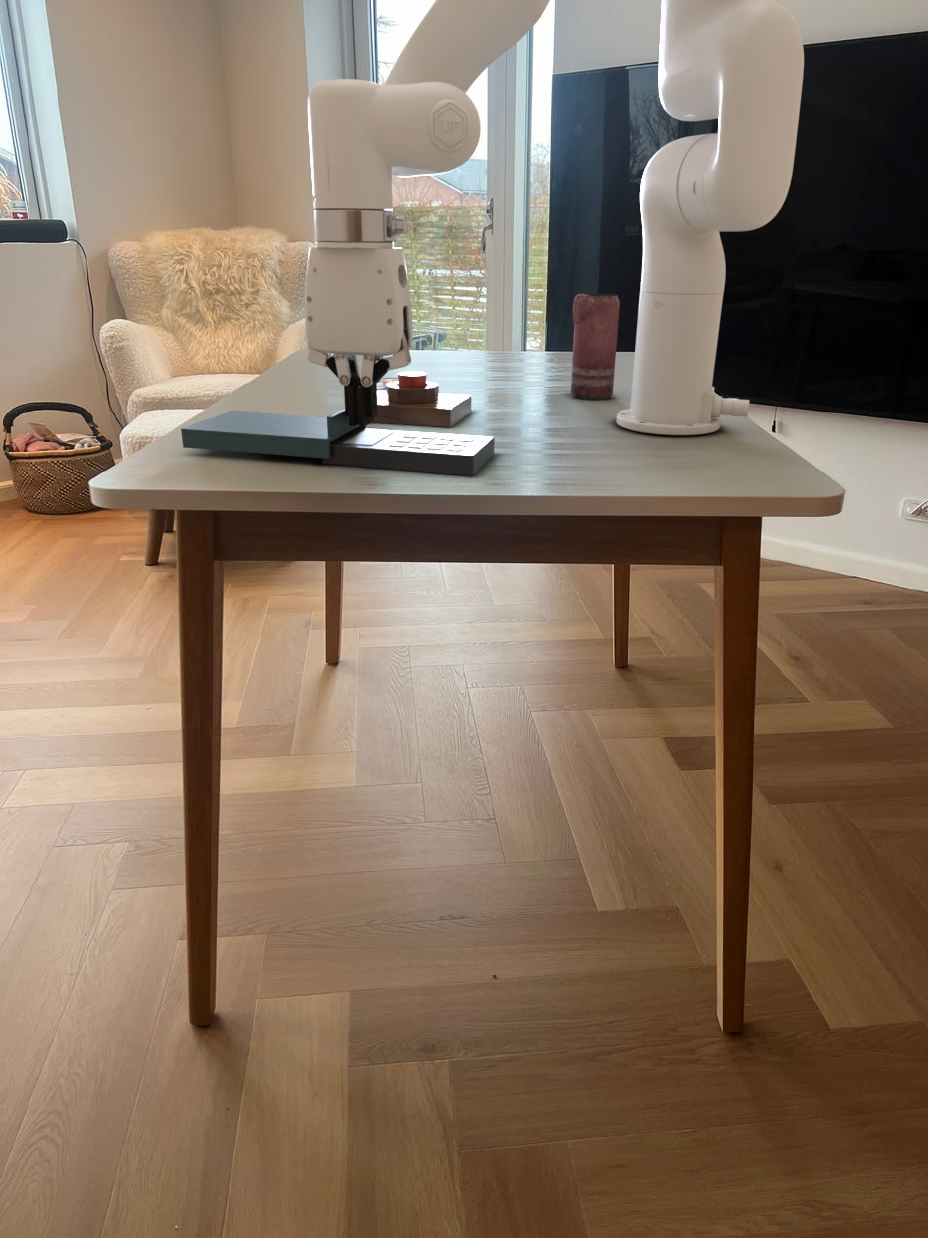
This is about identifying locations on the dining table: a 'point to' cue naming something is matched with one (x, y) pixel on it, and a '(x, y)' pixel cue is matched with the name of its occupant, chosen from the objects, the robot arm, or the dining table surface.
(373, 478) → the dining table surface
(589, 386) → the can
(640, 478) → the dining table surface
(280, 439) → the cover
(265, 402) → the dining table surface
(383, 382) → the smartphone
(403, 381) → the timer button
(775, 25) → the robot arm
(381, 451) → the calculator
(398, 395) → the block
